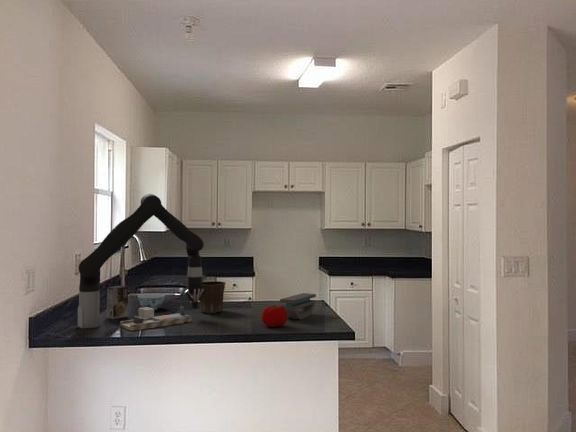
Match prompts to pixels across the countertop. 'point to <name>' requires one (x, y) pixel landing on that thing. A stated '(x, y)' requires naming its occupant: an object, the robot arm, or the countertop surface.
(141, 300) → the chinaware
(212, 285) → the plant pot
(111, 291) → the coffee box
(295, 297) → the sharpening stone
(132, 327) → the rail base
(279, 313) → the tomato
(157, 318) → the carriage
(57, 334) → the countertop surface
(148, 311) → the link block
